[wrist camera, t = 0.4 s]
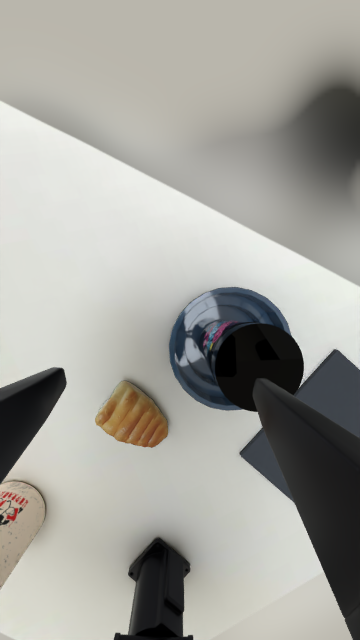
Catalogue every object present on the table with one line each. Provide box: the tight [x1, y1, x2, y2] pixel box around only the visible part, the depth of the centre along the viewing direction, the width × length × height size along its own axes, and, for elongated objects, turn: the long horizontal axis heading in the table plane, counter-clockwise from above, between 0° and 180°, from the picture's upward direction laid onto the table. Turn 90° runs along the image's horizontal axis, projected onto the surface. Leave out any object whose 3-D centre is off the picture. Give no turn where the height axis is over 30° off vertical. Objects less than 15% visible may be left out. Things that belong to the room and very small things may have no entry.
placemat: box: [240, 350, 360, 502], centre depth 24 cm, size 20×15×1 cm
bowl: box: [169, 287, 291, 410], centre depth 21 cm, size 14×14×4 cm
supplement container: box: [199, 320, 304, 412], centre depth 18 cm, size 7×7×10 cm
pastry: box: [95, 381, 168, 448], centre depth 22 cm, size 9×7×4 cm
